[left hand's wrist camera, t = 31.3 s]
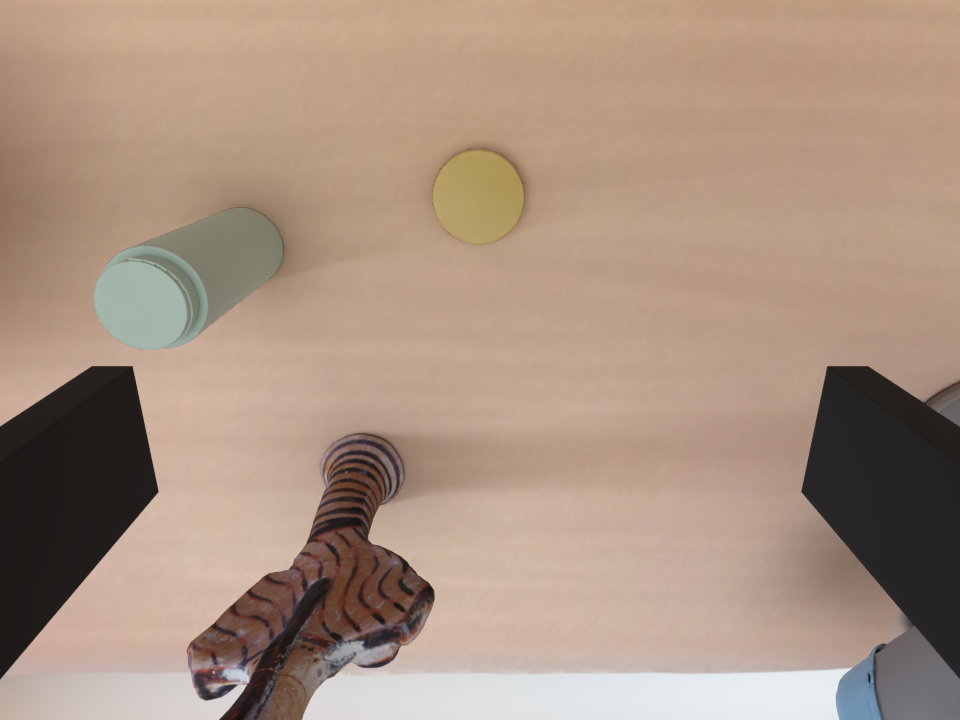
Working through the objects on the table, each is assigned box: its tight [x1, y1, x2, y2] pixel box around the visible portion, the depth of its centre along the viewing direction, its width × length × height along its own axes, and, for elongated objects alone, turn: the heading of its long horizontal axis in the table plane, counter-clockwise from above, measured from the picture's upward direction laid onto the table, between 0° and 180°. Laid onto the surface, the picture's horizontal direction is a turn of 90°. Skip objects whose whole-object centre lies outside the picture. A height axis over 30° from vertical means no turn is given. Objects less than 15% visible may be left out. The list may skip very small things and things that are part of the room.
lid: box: [432, 149, 525, 244], centre depth 45 cm, size 6×6×2 cm
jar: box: [93, 208, 283, 350], centre depth 40 cm, size 6×6×16 cm
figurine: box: [187, 434, 435, 720], centre depth 39 cm, size 15×8×30 cm, turn 112°
